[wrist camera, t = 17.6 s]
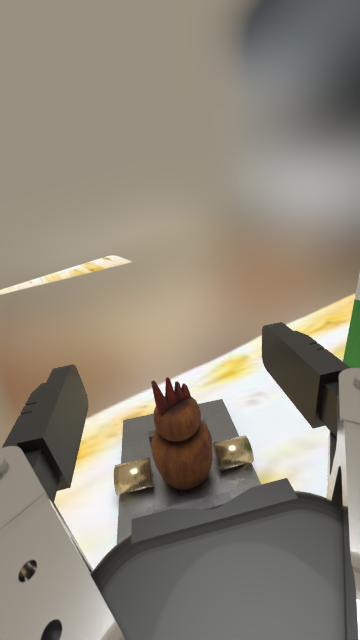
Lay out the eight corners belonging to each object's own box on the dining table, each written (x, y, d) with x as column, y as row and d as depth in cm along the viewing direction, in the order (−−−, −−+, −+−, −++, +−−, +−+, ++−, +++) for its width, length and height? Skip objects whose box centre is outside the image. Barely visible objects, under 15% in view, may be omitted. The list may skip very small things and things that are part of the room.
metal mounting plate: (222, 403, 41) (221, 384, 40) (296, 569, 22) (300, 546, 21) (124, 424, 40) (119, 405, 38) (115, 622, 21) (103, 601, 19)
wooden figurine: (163, 506, 27) (137, 402, 21) (155, 459, 33) (132, 364, 26) (222, 487, 29) (213, 382, 22) (205, 445, 34) (195, 350, 27)
